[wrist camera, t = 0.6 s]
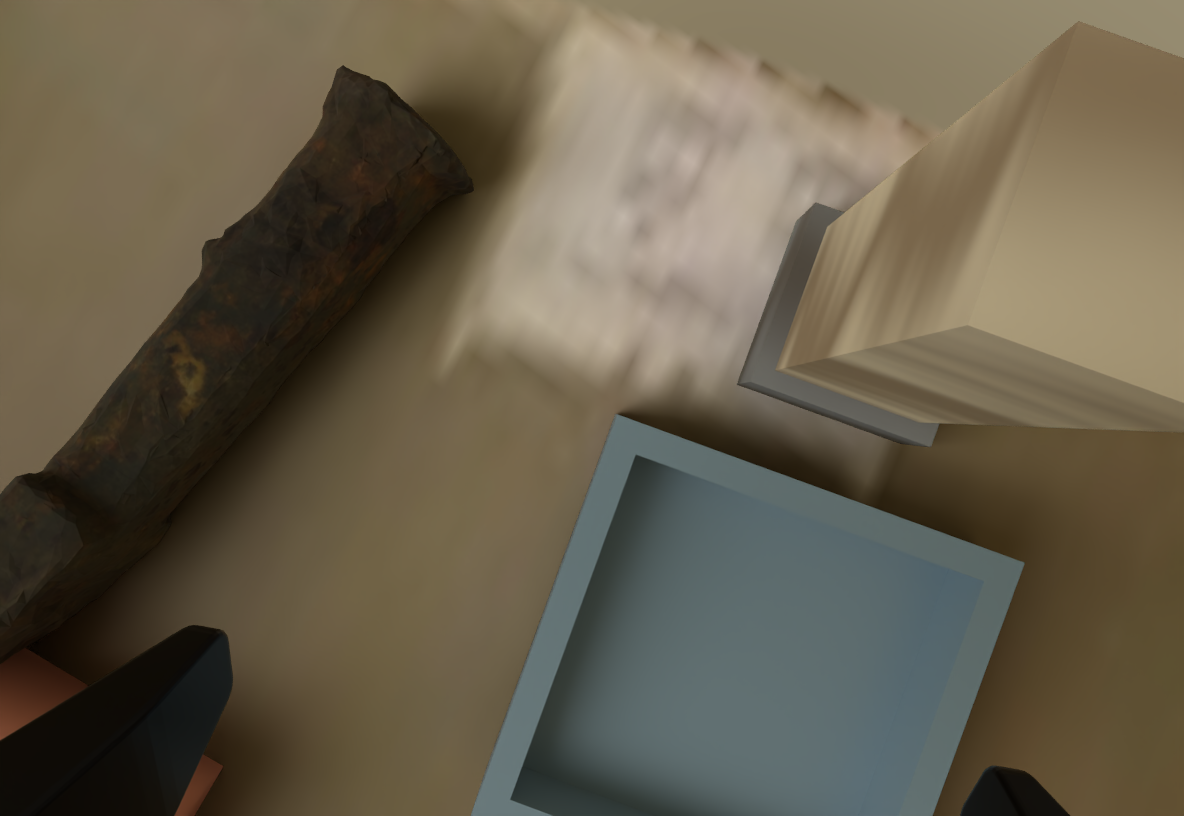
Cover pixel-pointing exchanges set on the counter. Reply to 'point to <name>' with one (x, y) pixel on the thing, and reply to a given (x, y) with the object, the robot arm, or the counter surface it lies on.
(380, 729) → the counter surface
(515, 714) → the tray
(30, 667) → the pottery
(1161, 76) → the beige pillar on base
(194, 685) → the robot arm
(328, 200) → the hand tool
